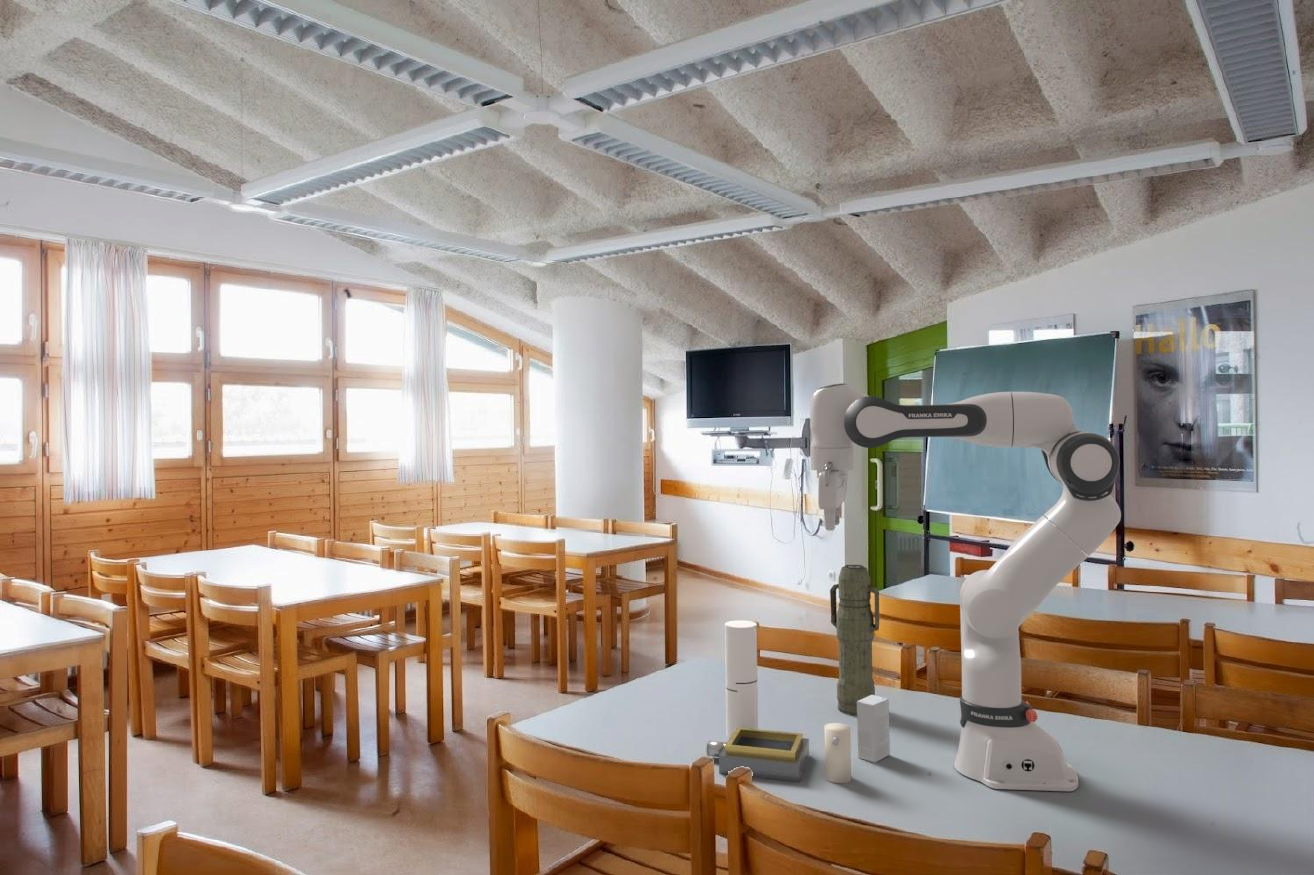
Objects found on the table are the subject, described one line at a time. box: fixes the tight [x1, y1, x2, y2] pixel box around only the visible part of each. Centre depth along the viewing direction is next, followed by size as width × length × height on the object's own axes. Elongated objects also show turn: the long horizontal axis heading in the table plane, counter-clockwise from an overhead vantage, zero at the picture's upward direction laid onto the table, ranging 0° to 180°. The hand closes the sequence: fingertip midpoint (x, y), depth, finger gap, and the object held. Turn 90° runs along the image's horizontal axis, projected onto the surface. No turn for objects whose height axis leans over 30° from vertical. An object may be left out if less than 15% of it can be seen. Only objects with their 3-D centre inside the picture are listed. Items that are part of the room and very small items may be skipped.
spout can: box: [823, 722, 852, 784], centre depth 165 cm, size 5×7×10 cm
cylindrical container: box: [724, 619, 759, 739], centre depth 190 cm, size 7×7×25 cm
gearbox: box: [705, 727, 810, 783], centre depth 174 cm, size 20×14×5 cm
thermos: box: [829, 564, 880, 716], centre depth 206 cm, size 9×12×35 cm
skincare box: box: [856, 694, 891, 763], centre depth 177 cm, size 6×4×12 cm
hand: (832, 527), depth 178 cm, fingers open, 8 cm apart
